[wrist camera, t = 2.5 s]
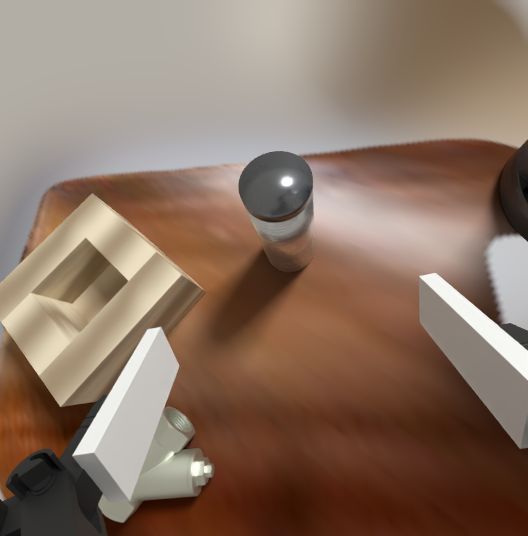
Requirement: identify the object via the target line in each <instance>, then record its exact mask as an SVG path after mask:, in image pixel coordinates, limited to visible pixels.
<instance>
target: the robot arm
mask: <svg viewBox="0 0 528 536" xmlns="http://www.w3.org/2000/svg"><path fill="white" fill-rule="evenodd" d="M499 191H500V199H501V203H502V206H503V209H504V211H505V213H506V216H507V217H508V219H509V221H510V222H511V224H512V225H513V227H514V228H515V229H516V230H517V232H518V233H519V234H520V235H521V236H522V237H523V238H524V239H525V240H526V241H528V140H527V141H526V142H525V143H524V144H523V145H522V146H521V147H520V148H519V149H518V150H517V151H516V152H515V153H514V155H513V156H512V157H511V158H510V159H509V161H508V162H507V164H506V165H505V167H504V169H503V172H502V175H501V179H500V187H499ZM419 312H420V324H421V325H422V326H423V328H424V329H425V330H426V331H427V333H428V334H429V335H430V336H431V338H432V339H433V340H434V341H435V343H436V344H437V345H438V346H439V348H440V349H441V350H442V351H443V353H444V354H445V355H446V356H447V358H448V359H449V360H450V361H451V363H452V364H453V365H454V367H455V368H456V369H457V370H458V372H459V373H460V374H461V375H462V377H463V378H464V379H465V380H466V382H467V383H468V384H469V385H470V387H471V388H472V389H473V390H474V392H475V393H476V394H477V395H478V397H479V398H480V399H481V400H482V402H483V403H484V404H485V405H486V407H487V408H488V409H489V410H490V412H491V413H492V414H493V415H494V417H495V418H496V419H497V420H498V422H499V423H500V424H501V426H502V427H503V428H504V429H505V431H506V432H507V433H508V434H509V436H510V437H511V438H512V439H513V441H514V442H515V443H516V444H517V446H518V447H519V448H520V449H523V448H528V331H527V330H525V329H522V328H520V327H518V326H516V325H513V324H511V323H508V324H502V325H497V324H496V323H494V322H493V321H492V320H491V319H490V318H488V317H487V316H486V315H485V314H484V313H482V312H481V311H480V310H479V309H478V308H477V307H475V306H474V305H473V304H472V303H471V302H469V301H468V300H467V299H466V298H465V297H463V296H462V295H461V294H460V293H459V292H458V291H456V290H455V289H454V288H453V287H452V286H450V285H449V284H448V283H447V282H446V281H445V280H443V279H442V278H441V277H440V276H439V275H437V274H436V273H433V274H428V275H423V276H419ZM178 368H179V364H178V362H177V360H176V358H175V356H174V354H173V351H172V349H171V347H170V345H169V343H168V341H167V339H166V336H165V334H164V332H163V330H162V328H161V327H158V328H152V329H147V331H146V333H145V334H144V336H143V338H142V339H141V341H140V343H139V344H138V346H137V348H136V349H135V351H134V353H133V355H132V356H131V358H130V360H129V361H128V363H127V365H126V366H125V368H124V370H123V371H122V373H121V375H120V376H119V378H118V380H117V381H116V383H115V385H114V386H113V388H112V390H111V391H110V393H109V394H106V395H103V396H102V397H101V398H100V399H99V400H98V401H97V402H96V403H95V404H94V405H93V406H92V408H91V410H90V411H89V413H88V414H87V416H86V419H84V421H83V422H82V424H81V425H80V429H78V430H77V432H76V433H75V435H74V437H73V438H72V440H71V441H70V443H69V445H68V446H67V448H66V449H65V451H64V453H63V454H62V456H61V457H60V459H59V458H58V457H57V456H56V455H55V454H54V452H53V451H52V450H50V449H43V450H39V451H37V452H35V453H33V454H31V455H30V456H28V457H27V458H26V459H24V460H23V461H22V462H21V463H20V464H19V465H18V466H17V467H16V468H15V469H14V470H13V471H12V473H11V475H10V476H9V478H8V480H7V483H6V487H7V488H8V489H9V490H10V491H11V492H12V493H13V494H14V495H15V496H13V497H11V498H9V499H6V500H4V501H2V500H1V499H0V536H108V534H107V530H106V526H105V523H104V519H103V515H102V511H101V509H100V508H99V506H98V504H99V501H100V499H101V497H102V495H104V496H105V498H106V499H107V500H108V501H109V503H117V502H125V501H130V499H131V496H132V494H133V491H134V488H135V485H136V483H137V480H138V477H139V475H140V472H141V469H142V466H143V464H144V461H145V458H146V455H147V453H148V450H149V447H150V445H151V442H152V439H153V436H154V434H155V431H156V428H157V426H158V423H159V420H160V417H161V415H162V412H163V409H164V407H165V404H166V401H167V398H168V396H169V393H170V390H171V387H172V385H173V382H174V379H175V377H176V374H177V371H178Z"/></svg>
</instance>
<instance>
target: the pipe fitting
mask: <svg viewBox="0 0 528 536" xmlns="http://www.w3.org/2000/svg"><path fill="white" fill-rule="evenodd" d="M195 433H196V432H195V429H194V427H193V425H192V423H191V422H190V420H189V419H188V418H187V417H186V416H185V415H184V414H183V413H182V412H180V411H179V410H177V409H175V408H173V407H169V406H168V407H165V408H164V409H163V412H162V415H161V417H160V420H159V423H158V426H157V428H156V431H155V434H154V436H153V439H152V442H151V445H150V447H149V450H148V453H147V455H146V458H145V461H144V464H143V466H142V469H141V472H140V475H139V477H138V480H137V483H136V485H135V488H134V491H133V494H132V496H131V499H130V501H125V502H117V503H109V501H108V500H107V499H106V498H105V496H104V495H102V497H101V499H100V501H99V504H98V506H99V508H100V509H101V511H102V513H103V514H104V515H105V516H106V517H108V518H110V519H111V520H114V521H117V522H121V523H124V522H125V521H126V520H127V519H128V518H129V517H130V516H131V515H132V514H133V513H134V512H135V511H136V510H137V508H138V507H139V506H140V504H141V503H142V502H143V501H144V500H155V499H167V498H181V497H194V496H198V495H199V494H200V492H201V489H202V486H203V485H205V484H207V482H208V480H209V477H213V475H214V464H213V463H209V459H208V457H204V456H203V453H202V450H201V449H200V448H195V449H184V450H182V449H183V448H184V447H185V446H186V445H187V444H188V442H189V441H190V440H191V439H192V437H193V436H194V435H195Z"/></svg>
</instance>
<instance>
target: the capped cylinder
mask: <svg viewBox="0 0 528 536" xmlns="http://www.w3.org/2000/svg"><path fill="white" fill-rule="evenodd" d="M239 194H240V197H241V199H242V201H243V204H244V206H245V208H246V210H247V213H248V215H249V217H250V219H251V222H252V224H253V226H254V228H255V231H256V233H257V235H258V237H259V240H260V242H261V244H262V246H263V249H264V251H265V253H266V255H267V258H268V260H269V262H270V263H271V264H272V266H273V267H275V268H276V269H278V270H280V271H283V272H296V271H299V270H302V269H303V268H305V267H306V266H307V265H308V264H309V263H310V261H311V260H312V258H313V255H314V215H313V176H312V172H311V169H310V167H309V166H308V164H307V163H306V162H305V161H304V160H303V159H302V158H301V157H299V156H297V155H295V154H293V153H289V152H284V151H276V152H270V153H266V154H263V155H261V156H259V157H257V158H255V159H254V160H253V161H251V162H250V163H249V164H248V165H247V166H246V167H245V169H244V170H243V172H242V174H241V176H240V179H239Z"/></svg>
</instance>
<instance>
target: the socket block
mask: <svg viewBox="0 0 528 536" xmlns="http://www.w3.org/2000/svg"><path fill="white" fill-rule="evenodd" d="M205 292H206V291H205V290H204V289H203V288H202V287H200V286H199V285H198V284H197V283H196V282H195V281H194V280H193V279H192V278H190V277H189V276H188V275H187V274H186V273H185V272H184V271H183V270H182V269H180V268H179V267H178V266H177V265H176V264H175V263H174V262H173V261H172V260H170V259H169V258H168V257H167V256H166V255H165V254H164V253H163V252H162V251H160V250H159V249H158V248H157V247H156V246H155V245H154V244H153V243H152V242H150V241H149V240H148V239H147V238H146V237H145V236H144V235H143V234H142V233H140V232H139V231H138V230H137V229H136V228H135V227H134V226H133V225H132V224H130V223H129V222H128V221H127V220H126V219H124V218H123V217H122V216H121V215H119V214H118V213H117V212H115V211H114V210H113V209H112V208H110V207H109V206H108V205H106V204H105V203H104V202H103V201H101V200H100V199H99V198H98V197H96V196H95V195H94V194H91V195H90V196H89V197H88V198H87V199H86V200H85V201H84V202H83V203H82V204H81V205H80V206H79V207H78V208H77V209H76V210H75V211H74V212H73V213H72V214H71V215H70V216H69V217H68V218H67V219H66V220H65V221H64V222H62V223H61V224H60V225H59V226H58V227H57V228H56V229H55V230H54V231H53V232H52V233H51V234H50V235H49V236H48V237H47V238H46V239H45V240H44V241H43V242H42V243H41V244H40V245H39V246H38V247H37V248H36V249H35V250H34V251H33V252H32V253H31V254H30V255H29V256H28V257H27V258H26V259H25V260H24V261H23V262H22V263H21V264H19V265H18V266H17V267H16V268H15V269H14V270H13V271H12V272H11V274H9V275H8V276H7V277H6V278H5V279H4V280H3V281H2V282H1V283H0V321H1V322H2V324H3V325H4V326H5V328H6V329H7V331H8V332H9V334H10V335H11V337H12V338H13V339H14V341H15V342H16V344H17V345H18V347H19V348H20V350H21V351H22V352H23V354H24V355H25V357H26V358H27V360H28V361H29V362H30V364H31V365H32V367H33V368H34V370H35V371H36V373H37V374H38V375H39V377H40V378H41V380H42V381H43V383H44V384H45V385H46V387H47V388H48V390H49V391H50V393H51V394H52V396H53V397H54V398H55V400H56V401H57V403H58V404H59V406H60V407H64V406H70V405H77V404H84V403H90V402H97V401H98V400H99V399H100V398H101V397H102V396H103V395H106V394H109V393H110V391H111V390H112V388H113V386H114V385H115V383H116V381H117V380H118V378H119V376H120V375H121V373H122V371H123V370H124V368H125V366H126V365H127V363H128V361H129V360H130V358H131V356H132V355H133V353H134V351H135V349H136V348H137V346H138V344H139V343H140V341H141V339H142V338H143V336H144V334H145V333H146V331H147V329H152V328H158V327H161V328H162V330H163V332H164V334H165V336H167V335H168V334H169V333H170V332H171V330H172V329H173V328H174V327H175V326H176V325H177V324H178V323H179V321H180V320H181V319H182V318H183V317H184V316H185V315H186V314H187V312H188V311H189V310H190V309H191V308H192V307H193V306H194V305H195V303H196V302H197V301H198V300H199V299H200V298H201V297H202V296H203V295H204V293H205Z"/></svg>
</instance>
